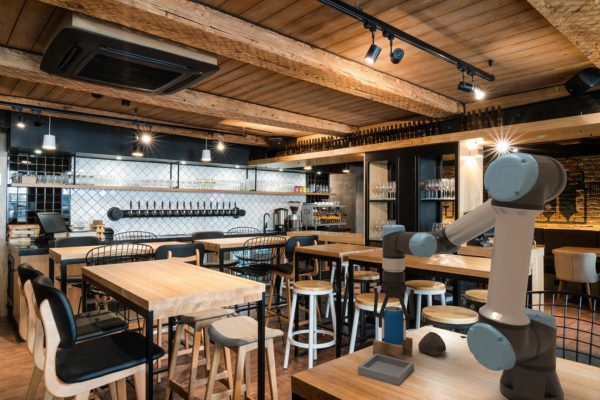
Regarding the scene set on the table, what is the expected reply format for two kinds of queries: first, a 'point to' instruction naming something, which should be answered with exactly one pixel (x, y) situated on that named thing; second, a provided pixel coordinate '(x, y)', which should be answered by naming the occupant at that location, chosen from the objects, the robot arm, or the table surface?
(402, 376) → the tray
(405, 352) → the cradle
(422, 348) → the stone
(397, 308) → the beverage can
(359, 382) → the table surface
